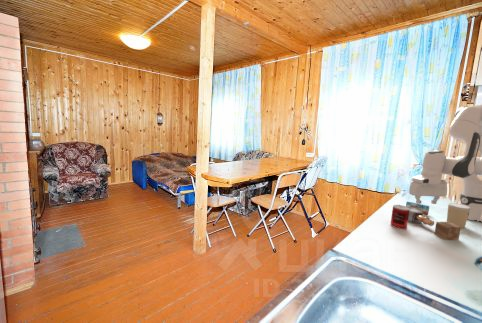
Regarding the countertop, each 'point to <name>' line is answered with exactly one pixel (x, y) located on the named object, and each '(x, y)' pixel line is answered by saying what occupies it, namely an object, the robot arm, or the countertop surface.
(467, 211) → the coffee cup
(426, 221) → the tube
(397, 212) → the canned food
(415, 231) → the countertop surface
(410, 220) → the sleeve
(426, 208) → the blue thin box
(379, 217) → the countertop surface
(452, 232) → the socket
